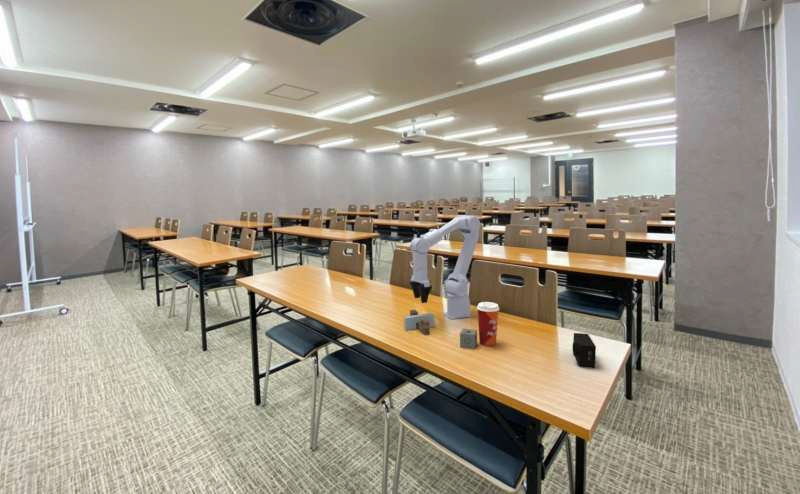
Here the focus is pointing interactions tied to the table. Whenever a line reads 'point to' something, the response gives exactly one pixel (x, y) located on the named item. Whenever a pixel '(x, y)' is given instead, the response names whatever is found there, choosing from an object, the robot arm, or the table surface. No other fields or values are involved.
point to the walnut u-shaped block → (421, 323)
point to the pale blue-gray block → (417, 320)
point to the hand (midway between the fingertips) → (420, 300)
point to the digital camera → (584, 350)
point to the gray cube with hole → (468, 338)
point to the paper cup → (487, 322)
